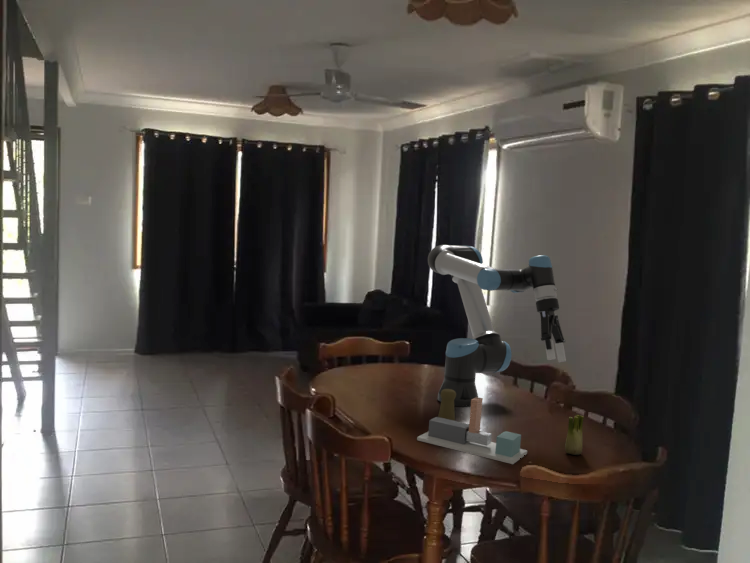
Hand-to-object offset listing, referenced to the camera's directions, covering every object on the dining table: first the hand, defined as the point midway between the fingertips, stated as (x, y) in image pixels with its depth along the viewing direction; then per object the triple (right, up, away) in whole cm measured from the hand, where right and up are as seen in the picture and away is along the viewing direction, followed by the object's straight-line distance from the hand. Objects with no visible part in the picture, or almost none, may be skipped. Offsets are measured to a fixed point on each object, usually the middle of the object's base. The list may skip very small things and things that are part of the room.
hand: (557, 360), depth 244 cm
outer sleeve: (-39, -23, -22) cm, 50 cm away
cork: (-38, -21, 0) cm, 43 cm away
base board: (-32, -23, -25) cm, 47 cm away
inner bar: (-34, -21, -24) cm, 47 cm away
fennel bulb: (-2, -26, -25) cm, 36 cm away
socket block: (-23, -25, -31) cm, 46 cm away
